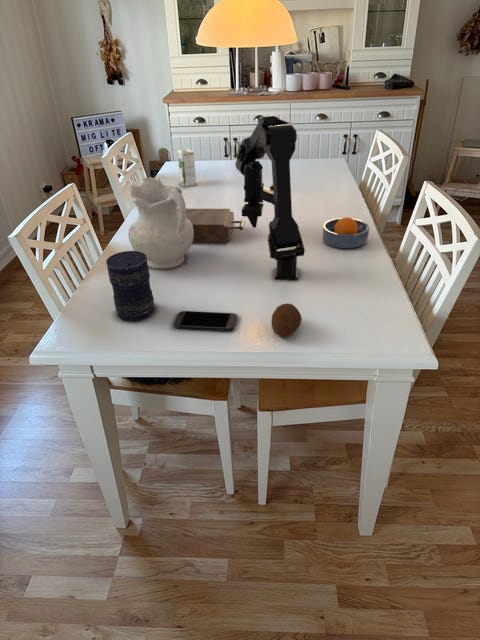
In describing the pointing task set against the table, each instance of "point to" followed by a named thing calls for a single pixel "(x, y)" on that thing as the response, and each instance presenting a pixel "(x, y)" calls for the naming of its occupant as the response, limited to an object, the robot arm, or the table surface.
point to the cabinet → (208, 225)
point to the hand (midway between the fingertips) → (254, 227)
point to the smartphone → (205, 320)
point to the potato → (286, 320)
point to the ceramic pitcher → (160, 224)
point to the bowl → (345, 240)
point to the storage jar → (131, 285)
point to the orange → (346, 226)
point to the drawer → (232, 225)
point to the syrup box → (186, 167)
